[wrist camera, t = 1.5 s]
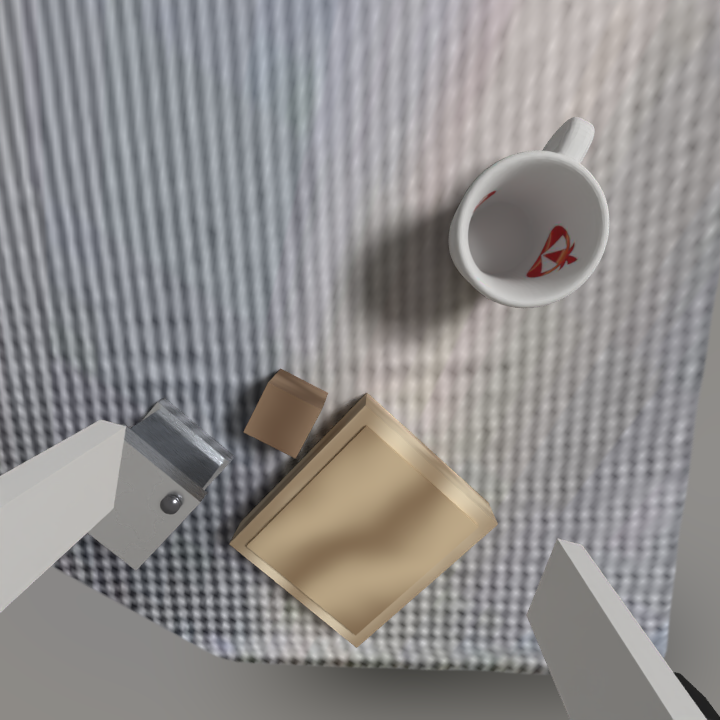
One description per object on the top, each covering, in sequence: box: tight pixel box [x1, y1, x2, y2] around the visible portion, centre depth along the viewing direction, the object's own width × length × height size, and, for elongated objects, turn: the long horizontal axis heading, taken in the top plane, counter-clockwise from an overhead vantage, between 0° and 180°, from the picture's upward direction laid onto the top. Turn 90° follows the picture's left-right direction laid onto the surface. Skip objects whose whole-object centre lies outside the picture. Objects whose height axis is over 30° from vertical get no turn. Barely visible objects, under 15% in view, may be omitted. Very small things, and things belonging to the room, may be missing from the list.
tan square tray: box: [229, 393, 498, 648], centre depth 34 cm, size 13×15×3 cm
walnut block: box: [244, 369, 328, 458], centre depth 32 cm, size 4×4×4 cm
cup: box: [449, 117, 609, 308], centre depth 27 cm, size 11×8×8 cm
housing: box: [87, 398, 234, 570], centre depth 32 cm, size 7×7×7 cm
